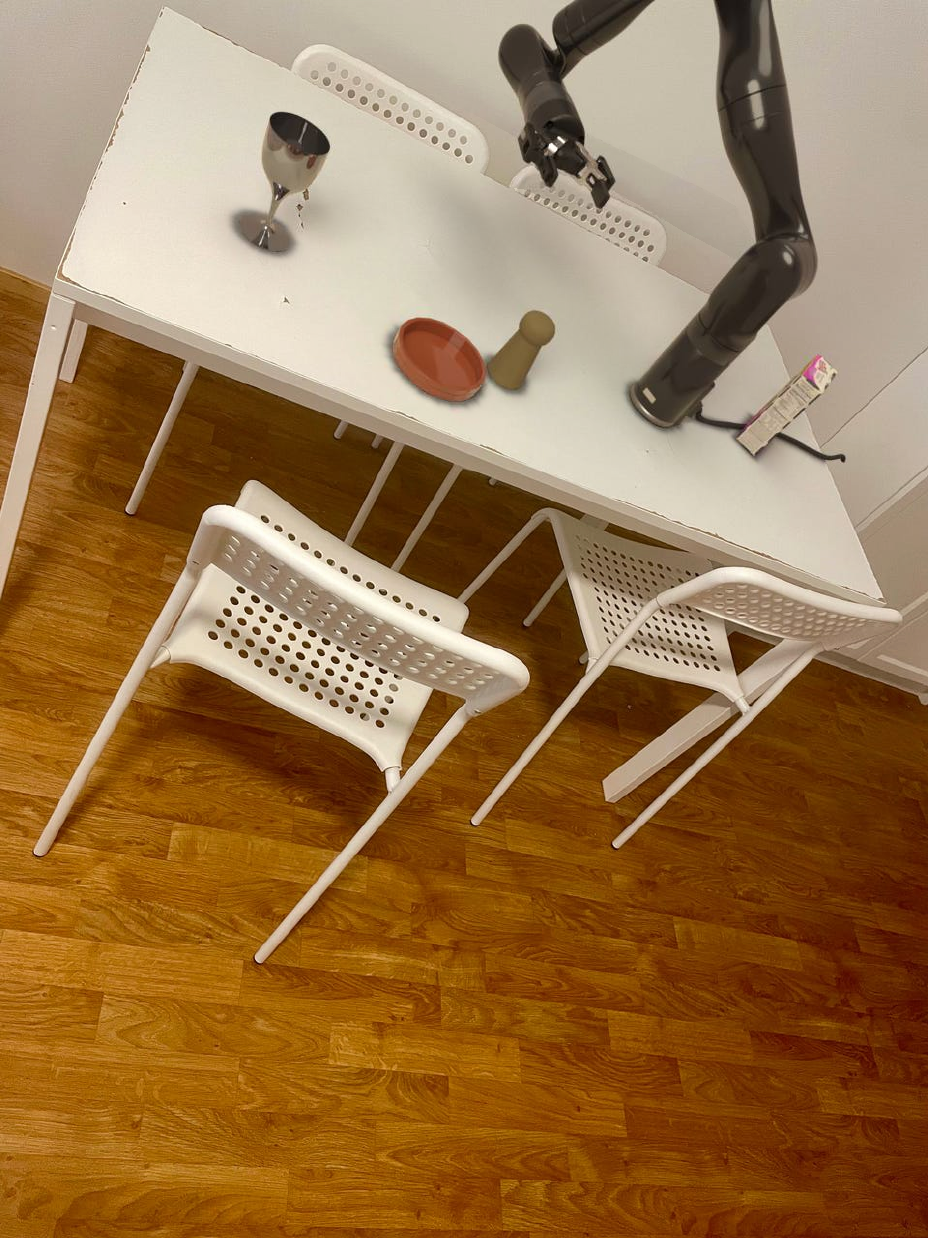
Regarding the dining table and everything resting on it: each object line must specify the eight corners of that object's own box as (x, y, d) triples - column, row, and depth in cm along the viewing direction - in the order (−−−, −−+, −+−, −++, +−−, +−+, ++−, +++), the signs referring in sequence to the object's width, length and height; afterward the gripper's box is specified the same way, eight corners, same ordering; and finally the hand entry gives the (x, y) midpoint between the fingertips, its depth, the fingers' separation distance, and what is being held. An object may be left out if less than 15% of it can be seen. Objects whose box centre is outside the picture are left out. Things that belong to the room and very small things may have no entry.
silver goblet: (303, 246, 120) (342, 151, 109) (265, 258, 115) (301, 158, 104) (264, 208, 120) (299, 108, 109) (223, 218, 115) (255, 114, 104)
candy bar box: (751, 416, 159) (818, 352, 147) (770, 434, 159) (839, 372, 147) (733, 438, 151) (802, 372, 139) (753, 457, 151) (825, 393, 139)
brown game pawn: (517, 396, 126) (558, 341, 118) (483, 374, 125) (521, 317, 117) (525, 374, 130) (565, 320, 122) (492, 352, 129) (530, 296, 121)
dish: (469, 343, 127) (476, 332, 126) (485, 410, 121) (493, 400, 119) (387, 318, 121) (393, 306, 119) (399, 387, 114) (406, 376, 113)
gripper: (525, 78, 117) (550, 147, 110) (606, 118, 124) (635, 186, 116) (498, 128, 123) (520, 198, 115) (577, 164, 130) (603, 232, 122)
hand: (578, 192), depth 116 cm, fingers open, 8 cm apart
